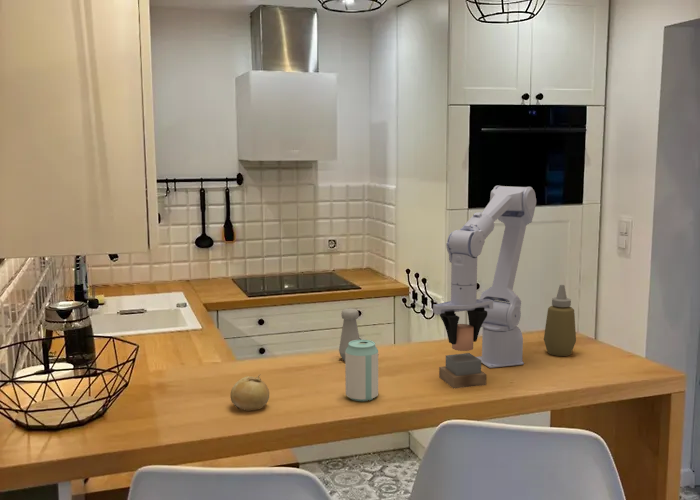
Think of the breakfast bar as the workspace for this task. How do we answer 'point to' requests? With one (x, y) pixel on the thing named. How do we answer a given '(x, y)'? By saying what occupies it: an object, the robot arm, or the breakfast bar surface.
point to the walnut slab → (461, 379)
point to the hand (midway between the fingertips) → (462, 341)
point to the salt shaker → (348, 329)
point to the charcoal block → (463, 364)
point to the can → (361, 370)
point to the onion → (250, 393)
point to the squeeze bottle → (560, 325)
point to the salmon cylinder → (464, 338)
